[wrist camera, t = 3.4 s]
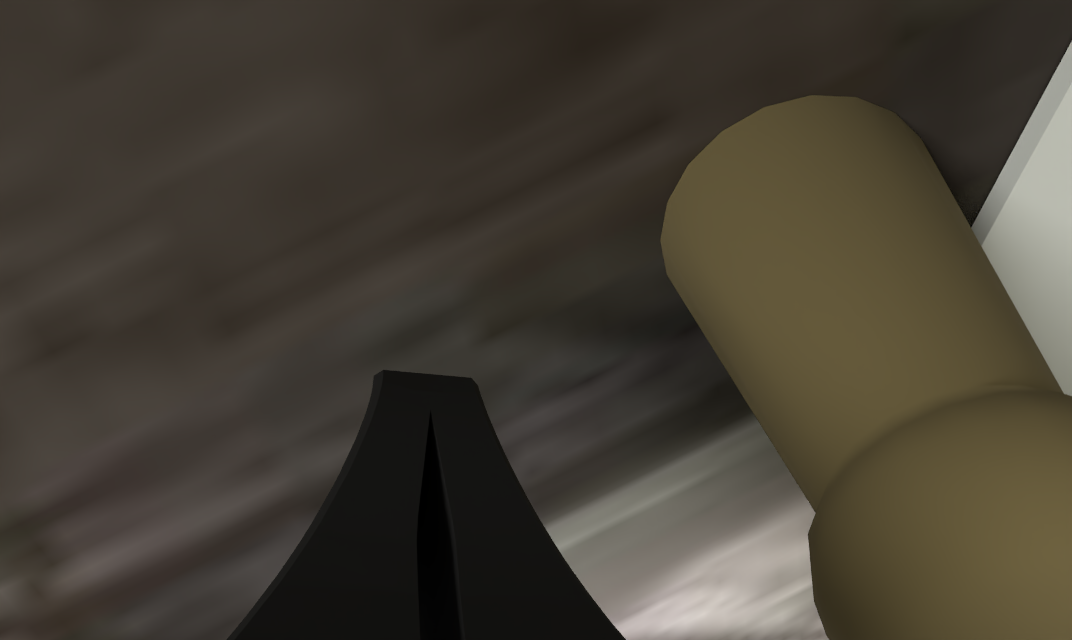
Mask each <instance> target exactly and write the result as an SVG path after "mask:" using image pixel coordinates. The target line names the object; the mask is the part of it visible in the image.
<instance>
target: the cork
mask: <svg viewBox="0 0 1072 640" xmlns="http://www.w3.org/2000/svg"><path fill="white" fill-rule="evenodd" d="M660 241H661V246H662V252H663V257H664V262H665V268H666V273H667V276H668V277H669V279H670V281H671V282H672V284H673V285H674V287H675V289H676V290H677V292H678V293H679V295H680V297H681V298H682V300H683V301H684V303H685V305H686V306H687V308H688V309H689V311H690V313H691V314H692V316H693V317H694V319H695V321H696V322H697V324H698V325H699V327H700V329H701V330H702V332H703V333H704V335H705V337H706V338H707V340H708V341H709V343H710V345H711V346H712V348H713V349H714V351H715V353H716V354H717V356H718V357H719V359H720V361H721V362H722V364H723V365H724V367H725V369H726V370H727V372H728V373H729V375H730V377H731V378H732V380H733V381H734V383H735V385H736V386H737V388H738V389H739V391H740V393H741V394H742V396H743V397H744V399H745V401H746V402H747V404H748V405H749V407H750V409H751V410H752V412H753V413H754V415H755V417H756V418H757V420H758V421H759V423H760V425H761V426H762V428H763V429H764V431H765V433H766V434H767V436H768V437H769V439H770V441H771V442H772V444H773V445H774V447H775V449H776V450H777V452H778V453H779V455H780V457H781V458H782V460H783V461H784V463H785V465H786V466H787V468H788V469H789V471H790V473H791V474H792V476H793V477H794V479H795V481H796V482H797V484H798V485H799V487H800V489H801V490H802V492H803V493H804V495H805V496H806V498H807V500H808V501H809V503H810V504H811V506H812V508H813V509H814V511H815V512H816V514H815V517H814V519H813V522H812V525H811V527H810V530H809V533H808V539H809V550H810V562H811V573H812V584H813V595H814V602H815V605H816V608H817V610H818V613H819V616H820V619H821V621H822V624H823V627H824V630H825V632H826V635H827V637H828V638H829V639H830V640H1072V396H1070V395H1067V394H1064V393H1063V391H1062V389H1061V388H1060V386H1059V384H1058V382H1057V380H1056V379H1055V377H1054V375H1053V373H1052V371H1051V370H1050V368H1049V366H1048V364H1047V363H1046V361H1045V359H1044V357H1043V355H1042V354H1041V352H1040V350H1039V348H1038V346H1037V345H1036V343H1035V341H1034V339H1033V338H1032V336H1031V334H1030V332H1029V330H1028V329H1027V327H1026V325H1025V323H1024V322H1023V320H1022V318H1021V316H1020V314H1019V313H1018V311H1017V309H1016V307H1015V305H1014V304H1013V302H1012V300H1011V298H1010V297H1009V295H1008V293H1007V291H1006V289H1005V288H1004V286H1003V284H1002V282H1001V280H1000V279H999V277H998V275H997V273H996V272H995V270H994V268H993V266H992V264H991V263H990V261H989V259H988V257H987V255H986V254H985V252H984V250H983V248H982V247H981V245H980V243H979V241H978V239H977V238H976V236H975V234H974V232H973V230H972V229H971V227H970V225H969V223H968V222H967V220H966V218H965V216H964V214H963V213H962V211H961V209H960V207H959V205H958V204H957V202H956V200H955V198H954V197H953V195H952V193H951V191H950V189H949V188H948V186H947V184H946V182H945V181H944V179H943V177H942V175H941V173H940V172H939V170H938V168H937V166H936V164H935V163H934V161H933V159H932V157H931V156H930V154H929V152H928V150H927V148H926V147H925V145H924V143H923V141H922V139H921V138H920V137H919V136H918V135H917V134H916V133H915V132H914V131H913V130H912V129H911V128H910V127H909V126H908V125H907V124H906V123H905V122H904V121H903V120H902V119H901V118H900V117H899V116H898V115H897V114H895V113H894V112H892V111H890V110H887V109H885V108H882V107H880V106H877V105H875V104H872V103H870V102H867V101H865V100H862V99H860V98H857V97H841V96H818V95H810V96H806V97H802V98H798V99H794V100H791V101H787V102H783V103H779V104H775V105H771V106H767V107H764V108H762V109H760V110H759V111H757V112H755V113H753V114H752V115H750V116H748V117H746V118H744V119H743V120H741V121H739V122H737V123H736V124H734V125H732V126H730V127H729V128H727V129H725V130H723V131H722V132H721V133H720V134H719V135H718V136H717V137H716V138H715V139H714V140H713V141H712V142H711V143H710V144H709V145H708V146H707V147H706V148H704V149H703V150H702V151H701V152H700V153H699V154H698V155H697V156H696V157H695V158H694V159H693V160H692V161H691V162H690V163H689V164H688V166H687V168H686V170H685V172H684V173H683V175H682V177H681V179H680V180H679V182H678V184H677V186H676V188H675V189H674V191H673V193H672V195H671V197H670V198H669V200H668V202H667V207H666V213H665V218H664V223H663V229H662V234H661V239H660Z"/></svg>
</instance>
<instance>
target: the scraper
mask: <svg viewBox="0 0 1072 640" xmlns="http://www.w3.org/2000/svg"><path fill="white" fill-rule="evenodd" d="M971 229H972V230H973V232H974V234H975V236H976V238H977V239H978V241H979V243H980V245H981V247H982V248H983V250H984V252H985V254H986V255H987V257H988V259H989V261H990V263H991V264H992V266H993V268H994V270H995V272H996V273H997V275H998V277H999V279H1000V280H1001V282H1002V284H1003V286H1004V288H1005V289H1006V291H1007V293H1008V295H1009V297H1010V298H1011V300H1012V302H1013V304H1014V305H1015V307H1016V309H1017V311H1018V313H1019V314H1020V316H1021V318H1022V320H1023V322H1024V323H1025V325H1026V327H1027V329H1028V330H1029V332H1030V334H1031V336H1032V338H1033V339H1034V341H1035V343H1036V345H1037V346H1038V348H1039V350H1040V352H1041V354H1042V355H1043V357H1044V359H1045V361H1046V363H1047V364H1048V366H1049V368H1050V370H1051V371H1052V373H1053V375H1054V377H1055V379H1056V380H1057V382H1058V384H1059V386H1060V388H1061V389H1062V391H1063V393H1064V394H1067V395H1070V396H1072V42H1071V43H1070V45H1069V47H1068V49H1067V51H1066V53H1065V55H1064V56H1063V58H1062V60H1061V62H1060V64H1059V66H1058V68H1057V69H1056V71H1055V73H1054V75H1053V77H1052V79H1051V81H1050V82H1049V84H1048V86H1047V88H1046V90H1045V92H1044V94H1043V95H1042V97H1041V99H1040V101H1039V103H1038V105H1037V107H1036V108H1035V110H1034V112H1033V114H1032V116H1031V118H1030V120H1029V121H1028V123H1027V125H1026V127H1025V129H1024V131H1023V133H1022V134H1021V136H1020V138H1019V140H1018V142H1017V144H1016V146H1015V147H1014V149H1013V151H1012V153H1011V155H1010V157H1009V159H1008V160H1007V162H1006V164H1005V166H1004V168H1003V170H1002V172H1001V173H1000V175H999V177H998V179H997V181H996V183H995V184H994V186H993V188H992V190H991V192H990V194H989V196H988V197H987V199H986V201H985V203H984V205H983V207H982V209H981V210H980V212H979V214H978V216H977V218H976V220H975V222H974V223H973V225H972V227H971Z"/></svg>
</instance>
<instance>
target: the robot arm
mask: <svg viewBox="0 0 1072 640" xmlns="http://www.w3.org/2000/svg"><path fill="white" fill-rule="evenodd" d="M227 640H626V639H625V638H624V637H623V636H622V635H621V633H620V632H619V631H618V630H617V629H616V628H615V626H614V625H613V624H612V623H611V622H610V620H609V619H608V618H607V616H606V615H605V614H604V613H603V611H602V610H601V609H600V607H599V606H598V605H597V604H596V602H595V601H594V600H593V598H592V597H591V596H590V595H589V593H588V592H587V590H586V589H585V588H584V586H583V585H582V583H581V582H580V581H579V579H578V578H577V577H576V575H575V574H574V572H573V571H572V570H571V568H570V567H569V565H568V564H567V562H566V561H565V559H564V558H563V556H562V555H561V553H560V552H559V550H558V548H557V547H556V545H555V544H554V542H553V541H552V539H551V537H550V536H549V534H548V532H547V531H546V529H545V527H544V526H543V524H542V522H541V521H540V519H539V517H538V516H537V514H536V512H535V510H534V509H533V507H532V505H531V503H530V502H529V500H528V498H527V496H526V494H525V492H524V490H523V488H522V487H521V485H520V483H519V481H518V479H517V477H516V475H515V473H514V471H513V469H512V467H511V465H510V463H509V461H508V459H507V457H506V455H505V453H504V451H503V449H502V446H501V444H500V442H499V440H498V437H497V435H496V433H495V431H494V428H493V426H492V424H491V421H490V419H489V416H488V414H487V411H486V408H485V406H484V403H483V400H482V397H481V395H480V391H479V388H478V385H477V384H476V383H475V382H474V381H473V379H472V378H466V377H455V376H444V375H433V374H422V373H411V372H400V371H389V370H383V371H381V372H379V373H378V374H376V375H374V380H373V388H372V393H371V397H370V401H369V405H368V408H367V411H366V414H365V417H364V420H363V422H362V425H361V427H360V430H359V432H358V435H357V437H356V440H355V442H354V444H353V446H352V448H351V450H350V453H349V455H348V457H347V459H346V461H345V463H344V465H343V467H342V470H341V472H340V474H339V476H338V478H337V480H336V482H335V483H334V485H333V487H332V489H331V490H330V492H329V494H328V496H327V498H326V499H325V501H324V503H323V505H322V506H321V508H320V510H319V512H318V513H317V515H316V517H315V519H314V520H313V522H312V524H311V525H310V527H309V529H308V530H307V532H306V533H305V535H304V536H303V538H302V540H301V541H300V543H299V544H298V546H297V547H296V549H295V550H294V552H293V553H292V555H291V556H290V558H289V559H288V561H287V562H286V563H285V565H284V566H283V568H282V569H281V571H280V572H279V574H278V575H277V576H276V578H275V579H274V580H273V582H272V583H271V584H270V586H269V587H268V588H267V590H266V591H265V592H264V594H263V595H262V596H261V597H260V599H259V600H258V601H257V603H256V604H255V605H254V607H253V608H252V609H251V611H250V612H249V613H248V614H247V616H246V617H245V618H244V619H243V621H242V622H241V623H240V624H239V626H238V627H237V628H236V629H235V630H234V632H233V633H232V634H231V635H230V636H229V637H228V639H227Z"/></svg>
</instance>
